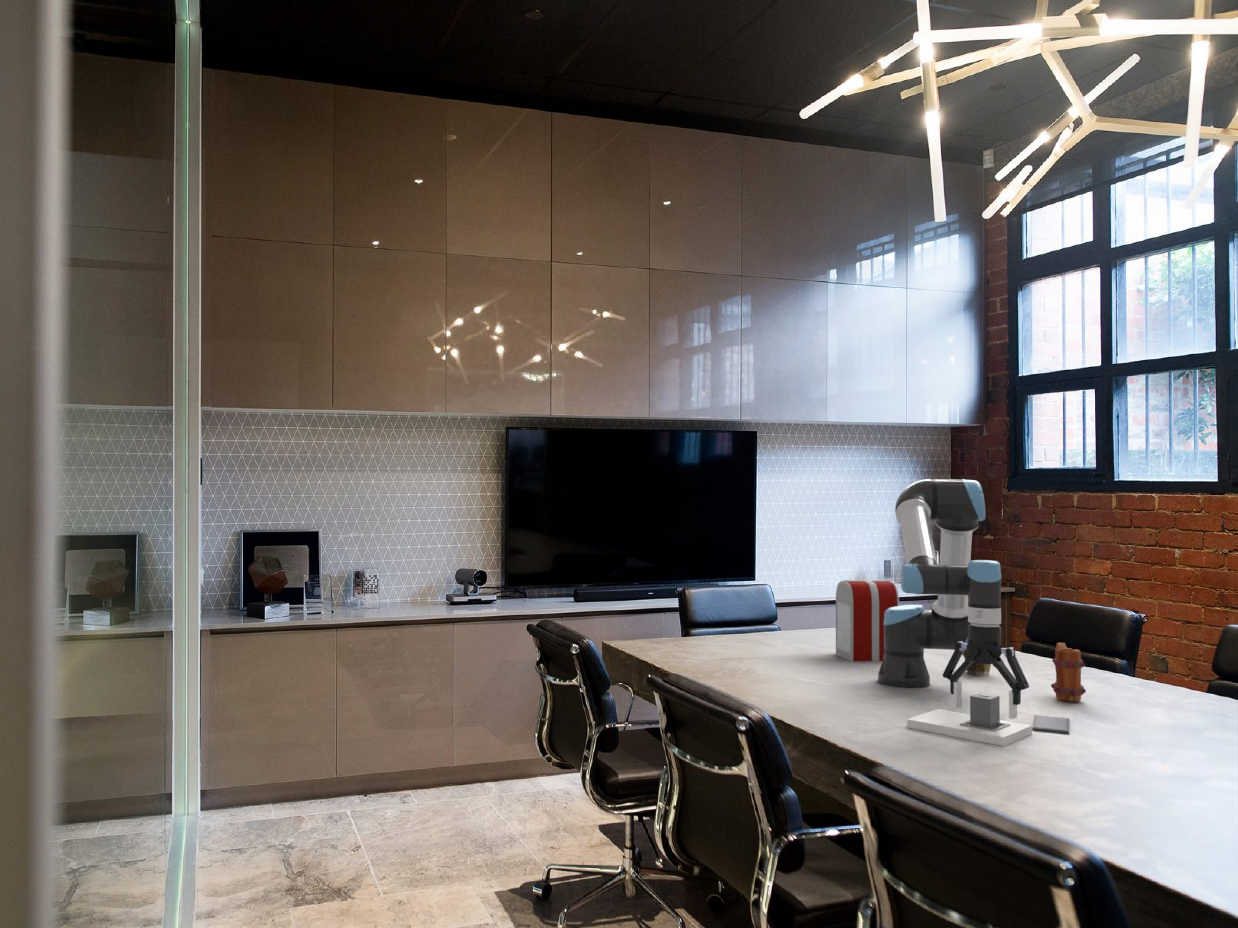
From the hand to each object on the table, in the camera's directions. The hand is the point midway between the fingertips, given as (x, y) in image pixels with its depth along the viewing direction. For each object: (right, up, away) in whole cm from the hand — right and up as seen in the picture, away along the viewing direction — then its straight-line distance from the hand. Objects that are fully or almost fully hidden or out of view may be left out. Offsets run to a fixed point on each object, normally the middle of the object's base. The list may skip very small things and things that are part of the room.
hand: (984, 713), depth 229 cm
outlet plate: (-3, -5, +3) cm, 6 cm away
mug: (+38, -6, +40) cm, 55 cm away
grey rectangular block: (0, -5, 0) cm, 5 cm away
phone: (+20, -6, +8) cm, 22 cm away
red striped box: (-1, -8, +105) cm, 106 cm away
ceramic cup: (+26, -8, +78) cm, 82 cm away
